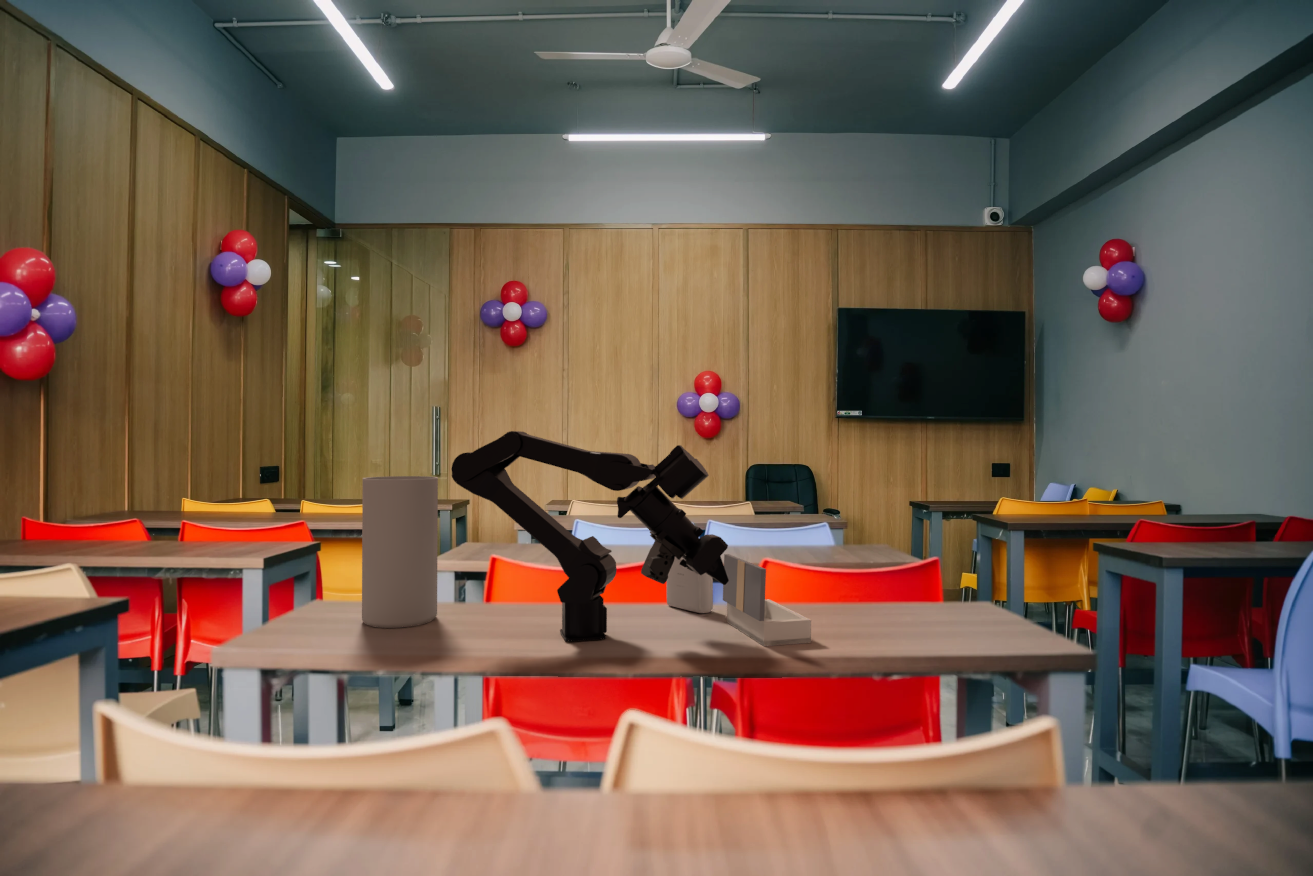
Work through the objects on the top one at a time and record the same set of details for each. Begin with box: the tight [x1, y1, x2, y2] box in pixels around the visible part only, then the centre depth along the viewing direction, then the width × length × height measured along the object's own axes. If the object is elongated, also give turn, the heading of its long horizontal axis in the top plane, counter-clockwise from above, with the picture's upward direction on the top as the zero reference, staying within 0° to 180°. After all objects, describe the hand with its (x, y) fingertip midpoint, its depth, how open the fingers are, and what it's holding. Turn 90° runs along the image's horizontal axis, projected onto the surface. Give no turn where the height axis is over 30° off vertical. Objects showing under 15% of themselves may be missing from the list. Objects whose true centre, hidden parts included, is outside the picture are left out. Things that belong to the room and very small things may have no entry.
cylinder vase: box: [361, 475, 439, 629], centre depth 133 cm, size 12×12×25 cm
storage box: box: [726, 598, 812, 647], centre depth 126 cm, size 8×16×4 cm, turn 16°
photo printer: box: [666, 557, 714, 614], centre depth 143 cm, size 10×4×12 cm, turn 39°
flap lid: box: [722, 553, 767, 621], centre depth 125 cm, size 8×16×1 cm
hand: (726, 582), depth 124 cm, fingers closed
